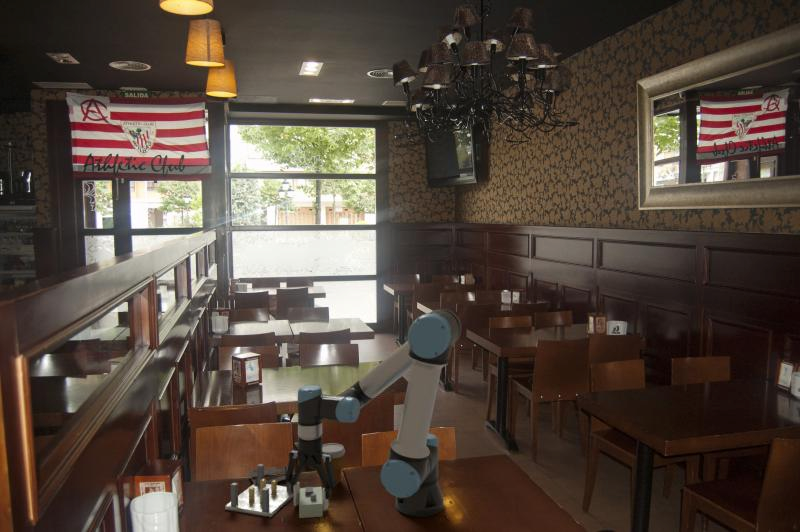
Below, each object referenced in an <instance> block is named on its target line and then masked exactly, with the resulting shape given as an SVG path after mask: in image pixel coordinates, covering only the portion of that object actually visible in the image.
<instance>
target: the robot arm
mask: <svg viewBox="0 0 800 532" xmlns="http://www.w3.org/2000/svg"><path fill="white" fill-rule="evenodd" d="M461 334H462V323H461V321H460V318H459V316H458V315H456V313H455V312H453V311H451V310H449V309H446V308H437V309H434V310H432V311H430V312H427V313H424V314H422V315H420V316H418V317H417V318H416V319H414V321H413V322H412V324H411V325H410V327H409V329H408V332H407V341H406V342H404V343H403V344H402V345H401V346H399V347H398V348H397V349H395V350H394V351H393V352H392V353H391V354H390V355H388V356H387V357H386V358H385V359H383V360H382V361H381V362H379V364H377V365H376V366H375V367H374V368H372V369H371V370H370V371H369V372H367V373H366V374H364V376H363V377H362V378H360V379H359V380H357V381H356V382H355V383H354V384H353V385H351V386H349V388H347V389H345V390H343V391H342V392H340V393H339V394H338V395H337V394H336V395H334V394H333V395H332V394H331V395H330V394H326V393H325V394H324V393H323V389H322V387H321V386H319V385H314V384H313V385H312V384H309V385H308V384H307V385H304V386H301V387H300V388H299V389H298V391H297V402H296V404H297V435H298V438H297V447H298V450H296V449H293V450H291V451H290V452H289V453H288V459H289V460H288V464H287V465H288V466H287V474H286V478H285V480H284V481H285V482H286V483H287V482H289V483H290V484H291V493H292V494H294V497H293V507H296V506H298V505H299V498H300V488H301V487H300V481H299V479H300V476H301V474H302V472H303V470H304V468H305V467H311V468H313V469H314V470H315V471H316V472H317V474H318V477H319V479H320V481H321V483H322V485H323V488H322V503H323V511H326V510H327V509H328V507H329V499H330V498H331V496H332V489H334V488H335V486H336V485H338V484H337V483H336V478H335V474H334V470H333V465H332V455H331V454H329V455H325V454H323V451H322V445H323V436H322V435H323V420H326V421H332V422H338V423H339V422H340V423H344V424H345V423H351V424H353V423H355V422H357V420H358V418H359V416H360V411H361V409H362V408H364V407H365V406H367V405H368V404H369V403H370V402H372V400H374V399H375V398H376V397H378V395H380V394H381V393H383V392H384V391H385V390H386V389H388V388H389V387H390V386H391V385H393V384H394V383H395V382H396V381H398V380H399V379H400V378H402V377H403V376H404V375H406V374H407V373H408V372H409V376H408V382H407V387H406V392H405V398H404V402H403V407H402V412H401V413H402V414H401V418H400V423H399V427H398V433H397V438H395V439H394V440H393V441H391V443H390V446H389V452H388V457H387V460H386V461H385V462H384V463H383V465H382V467H381V470H380V481H381V484H382V485H383V486H384V488H385V491H387V492H388V493H389V494H391V495H392V496H393V497H395V507H396V510H398V512H400V513H402V514H403V515H406V516H409V517H415V518H417V517H418V518H423V517H424V518H426V517H431V515H432V516H435V515H437V514H439V513H440V512H442V510H443V509H444V497H443V494H442V491H441V487H440V484H439V447H440V445H439V438H438V437H437V435H435V434H432V433H429V431H430V426H431V422H432V417H433V412H434V407H435V403H436V397H437V393H438V388H439V382H440V377H441V373H442V369H443V368H444V367H446V366H448V364H449V360H450V356H451V350H452V347H453V345H454V344H456V342H457V341H458V340H459V339H460V337H461ZM297 458H298V459H299V460H300V461H299V463H298V466H297V467H296V470H295V466H296V462H297ZM322 458H323V460H324V462H325V467H326V472H327V474H326V472H325V470H324V468H323V463H322V461H321V459H322ZM294 470H295V472H294ZM292 476H293V477H292ZM298 481H299V482H298ZM438 512H439V513H438ZM434 514H435V515H434Z"/></svg>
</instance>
